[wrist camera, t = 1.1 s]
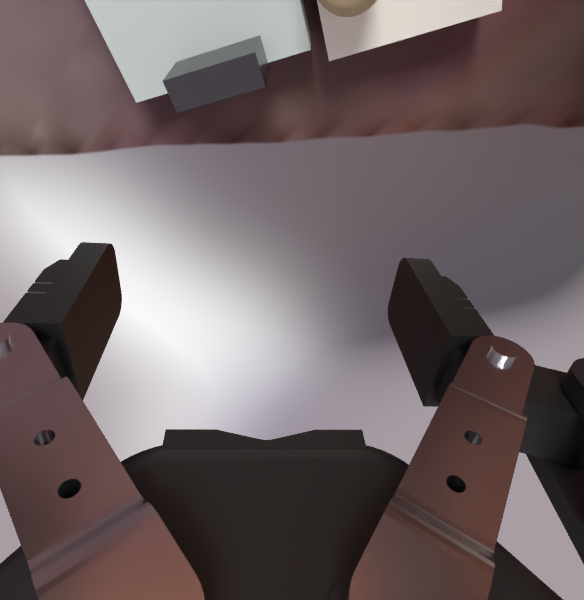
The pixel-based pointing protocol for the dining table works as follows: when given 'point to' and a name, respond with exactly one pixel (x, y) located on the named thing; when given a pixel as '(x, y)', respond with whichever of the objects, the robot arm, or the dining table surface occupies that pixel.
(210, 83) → the block
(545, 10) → the dining table surface
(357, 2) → the bar
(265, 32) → the door leaf
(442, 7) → the jamb block
